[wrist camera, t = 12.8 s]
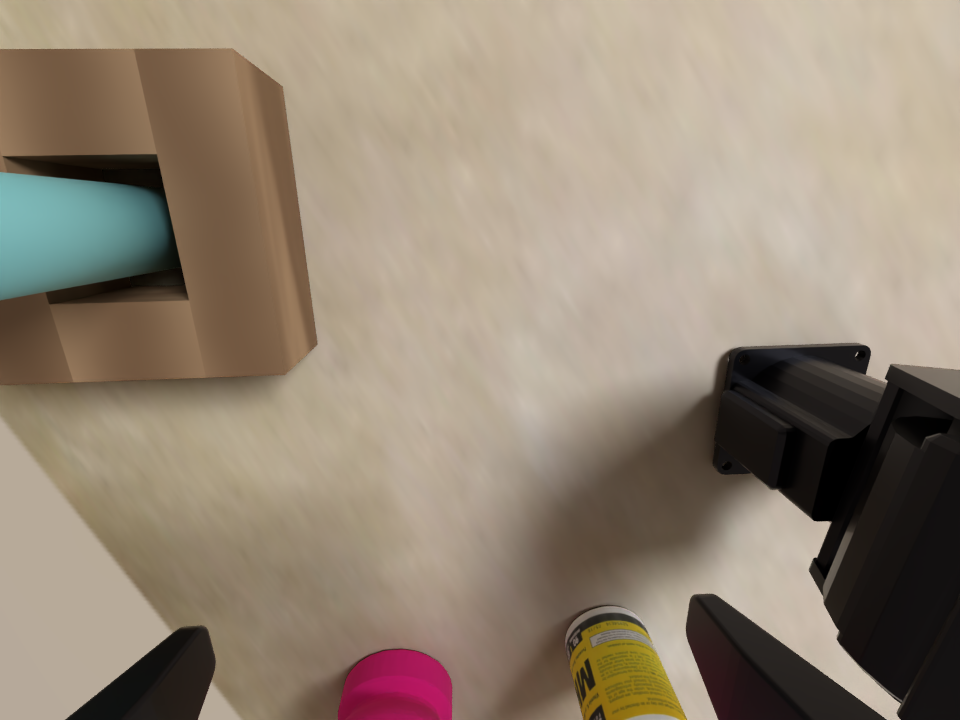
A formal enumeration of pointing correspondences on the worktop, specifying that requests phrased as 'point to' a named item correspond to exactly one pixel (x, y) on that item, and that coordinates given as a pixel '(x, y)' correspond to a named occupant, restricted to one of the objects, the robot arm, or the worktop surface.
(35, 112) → the socket block
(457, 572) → the worktop surface
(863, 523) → the robot arm
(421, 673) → the pepper mill
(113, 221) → the peg
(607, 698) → the supplement bottle
